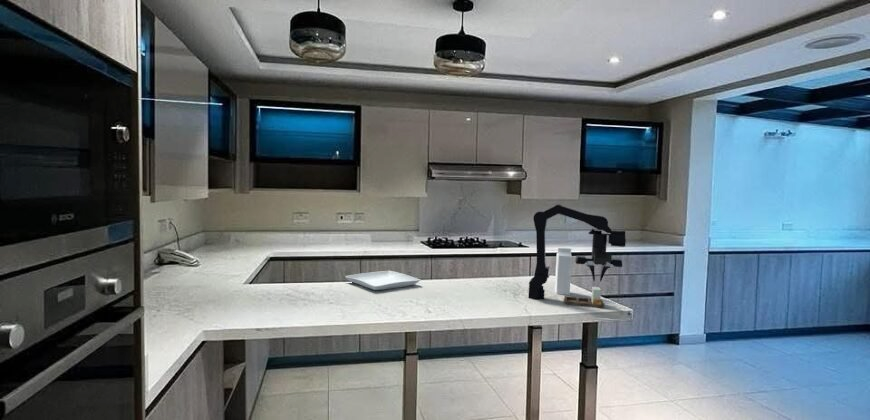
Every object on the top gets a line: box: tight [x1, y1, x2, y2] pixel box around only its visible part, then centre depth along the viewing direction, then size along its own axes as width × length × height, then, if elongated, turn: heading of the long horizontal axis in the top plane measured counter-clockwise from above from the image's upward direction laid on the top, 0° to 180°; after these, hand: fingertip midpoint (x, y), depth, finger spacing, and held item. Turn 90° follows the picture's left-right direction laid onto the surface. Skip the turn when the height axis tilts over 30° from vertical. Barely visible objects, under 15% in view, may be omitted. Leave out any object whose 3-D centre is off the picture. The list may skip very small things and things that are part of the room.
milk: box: [554, 247, 573, 296], centre depth 226 cm, size 6×6×22 cm
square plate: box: [344, 270, 421, 291], centre depth 234 cm, size 27×27×4 cm
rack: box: [563, 295, 606, 309], centre depth 208 cm, size 16×11×4 cm, turn 77°
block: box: [590, 286, 602, 304], centre depth 207 cm, size 3×6×7 cm, turn 167°
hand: (597, 281), depth 206 cm, fingers open, 2 cm apart
